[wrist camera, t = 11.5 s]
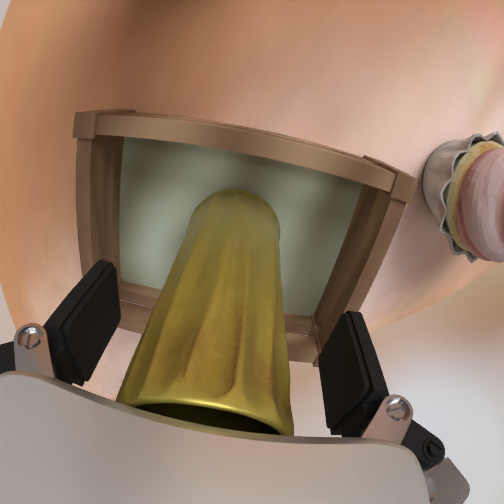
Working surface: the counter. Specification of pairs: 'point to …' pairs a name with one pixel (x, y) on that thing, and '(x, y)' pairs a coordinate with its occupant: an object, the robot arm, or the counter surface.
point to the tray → (242, 178)
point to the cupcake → (469, 195)
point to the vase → (219, 325)
